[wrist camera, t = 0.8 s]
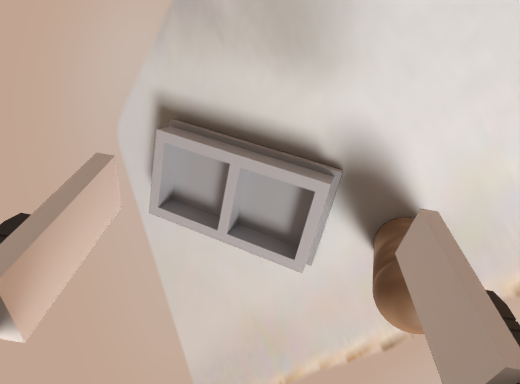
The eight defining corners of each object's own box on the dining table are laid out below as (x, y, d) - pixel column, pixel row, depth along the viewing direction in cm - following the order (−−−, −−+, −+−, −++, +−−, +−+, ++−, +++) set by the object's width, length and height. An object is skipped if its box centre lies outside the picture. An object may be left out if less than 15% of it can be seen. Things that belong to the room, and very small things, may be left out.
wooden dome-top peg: (409, 206, 27) (424, 263, 18) (452, 250, 27) (487, 329, 18) (361, 239, 30) (354, 305, 21) (401, 280, 30) (410, 364, 21)
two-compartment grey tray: (343, 170, 28) (338, 180, 25) (313, 261, 32) (305, 279, 29) (174, 119, 33) (152, 122, 29) (164, 204, 36) (144, 215, 33)
